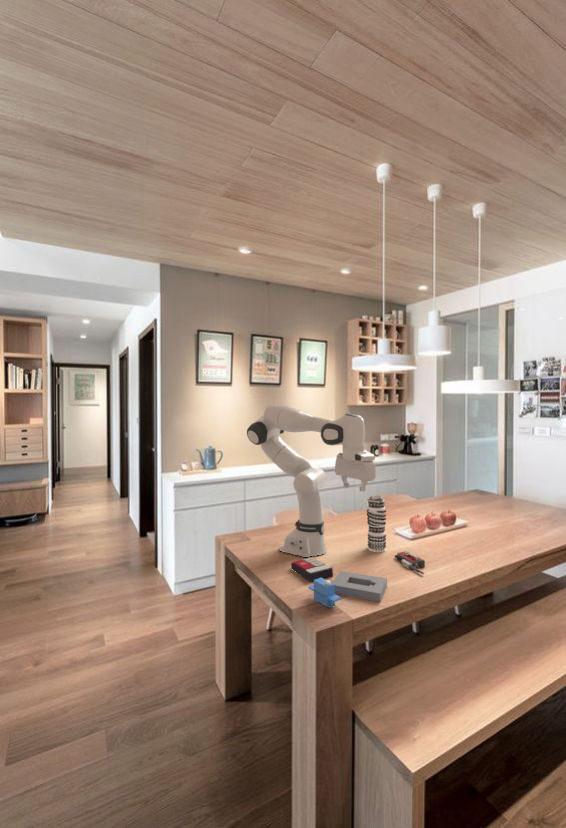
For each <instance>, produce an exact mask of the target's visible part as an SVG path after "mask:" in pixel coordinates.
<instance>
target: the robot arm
mask: <svg viewBox="0 0 566 828" xmlns="http://www.w3.org/2000/svg"><path fill="white" fill-rule="evenodd" d="M365 430H366V427H365V420H364V418H363V416H362V415H360V414H355V413H344V414H343V415H342V416H340V418H337V419H336V420H333V421H332V420H329V419H325V418H322V417H317V416H314V415H311V414H309V413H307V412H305V411H301V410H299V409H296V408H294V407H290V406H288V405H283V404H269V405H267V407H265V409H264V412H263V415H262V416H260V417H259V418H258V419H257V420H255V421H254V422H253V423H251V424H250V425H249V426H248V428H247V429H246V436H247V439H248V440H249V442H251V443H252V444H254V445H256V446H259V445H260V447H261V450H262V452H263V453H264V454H265V455H266V456H267V457H268V458H269V460H270V461H271V462H272V463H273V464H275V465H276V466H277V467H278V468H279V469H280V470H281V471H283V472H284V473H285V474H286V475H289V476H291V477H293V478H294V479H293V483H292V485H293V488H294V490H295V492H296V495H297V496H296V497H297V500H298V501H297V502H298V511H299V513H298V514H299V519H297V521H296V522H295V523H294V527H295V528H294V529H293V530H292V531H290V532H289V533H288V534H286V536H285V538H284V540H283V543H282V544H281V545H280V546H279V549H280V550H281V551H284V552H287V553H291V554H295V555H299V556H302V557H301V558H303V557H308V558H311V557H310V556H312V557H318V556H317V555H319V556H323V555H324V554H326V553H327V552H328V550H327V546H326V542H325V536H324V533H325V521H324V520H323V519H324V517H323V516H324V515H323V513H324V512H323V511H324V510H323V503H322V500H321V496H320V489H321V488H323V487H324V485H325V482H326V478H327V476H326V473H325V471H324V470H323V469H322V468H321V467H318V466H317V465H315V464H314V463H312V462H310V461H309V460H308V459H307V458H304V457H303V456H301V455H300V454H299V453H298V452H297V451H295V449H293V447H291V446H290V445H289V444H288V443H287V442H285V441H284V440H283V439H282V437H281V435H282V434H284V432H287V433H304V432H315V433H320V438H321V440H322V442H323V443H324V444H325V445H328V446H339V445H342V452H339V453H337V455H336V459H335V466H334V473H335V475H337V476H339V477H341V480H342V483H343V488H350V483H349V482H348V478H351V479H355V480H359V481H360V484H361V485H360V486H359V492H366V488H367V485H368V482H374V480H376V474H377V473H376V471H377V470H376V463H375V459H376V456H375V454H373V453H372V452H370V451H368V450H367V449H366V445H365V437H366V431H365ZM287 553H286V554H287ZM291 554H290V555H291ZM322 554H323V555H322ZM295 555H294V556H295ZM299 556H298V557H299Z"/></svg>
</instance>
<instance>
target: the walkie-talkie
mask: <svg viewBox="0 0 566 828" xmlns="http://www.w3.org/2000/svg"><path fill="white" fill-rule="evenodd" d="M394 558H395V559H396V560H397V561H398V562H401V563H402V564H401V565H402V566H403V567H404V568H406V569H408V570H413V571H415V572H417V573H420V574H421V575H425V573H424V572H423V571H422V570H420V569H418V568H425V567H426V563H425V562H426V561H425V559H422V558H421V557H420V556H419V555H417V554H415V553H413V552H412V553H410V551H406V550H404V551H401V552H400V551H399V552H397V554H395V555H394Z"/></svg>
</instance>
